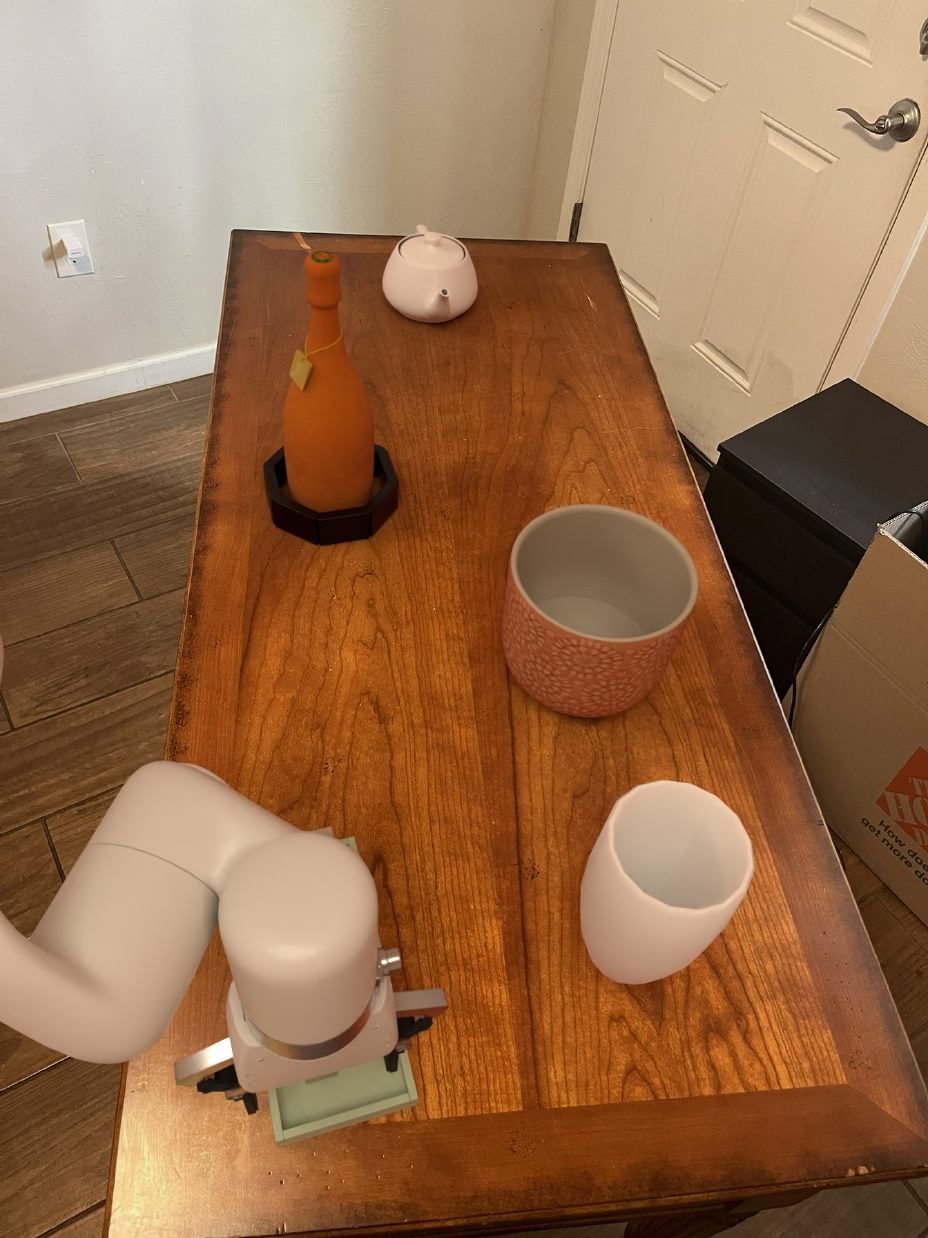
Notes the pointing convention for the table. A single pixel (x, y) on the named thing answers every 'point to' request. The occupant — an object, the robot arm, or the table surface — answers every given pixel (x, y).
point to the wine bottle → (327, 406)
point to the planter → (595, 607)
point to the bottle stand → (337, 522)
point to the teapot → (430, 277)
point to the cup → (662, 880)
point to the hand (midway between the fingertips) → (320, 1070)
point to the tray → (341, 1095)
